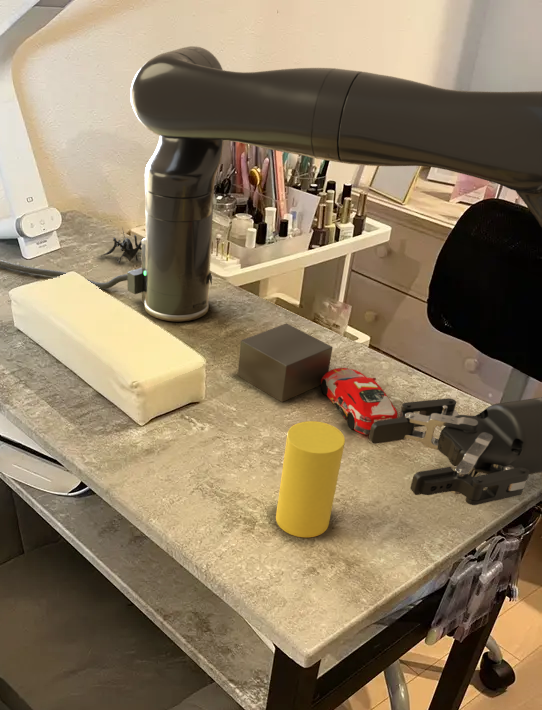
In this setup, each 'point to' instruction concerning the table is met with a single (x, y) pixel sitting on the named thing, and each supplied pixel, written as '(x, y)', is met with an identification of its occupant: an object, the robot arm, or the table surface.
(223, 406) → the table surface
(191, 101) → the robot arm
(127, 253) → the creature
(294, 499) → the canister
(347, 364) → the table surface
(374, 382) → the race car
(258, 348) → the block
